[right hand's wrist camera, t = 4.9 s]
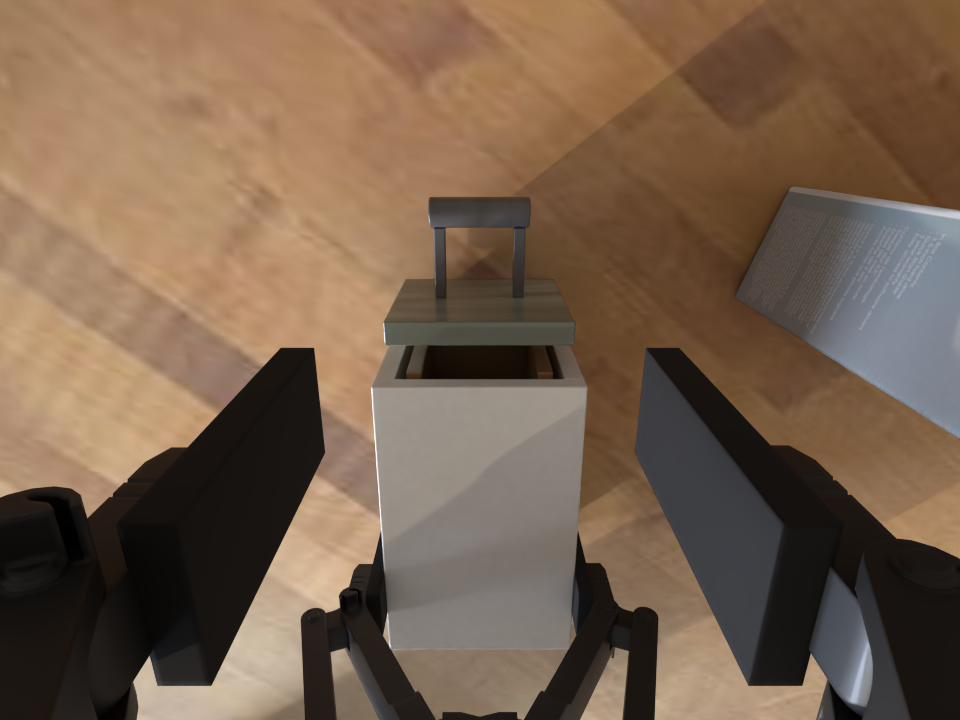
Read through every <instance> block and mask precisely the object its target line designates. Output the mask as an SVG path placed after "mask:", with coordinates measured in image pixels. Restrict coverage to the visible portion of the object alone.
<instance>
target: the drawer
mask: <svg viewBox="0 0 960 720" xmlns="http://www.w3.org/2000/svg"><path fill="white" fill-rule="evenodd" d="M530 214H531V205H530V198H529V197H430V198H429V203H428V216H429V226H430V227H431V228H434V229H433V231H434V267H435V279H406V280H405V282H404V284H403V286H402V288H401V290H400V292H399V294H398V295H397V297H396V299H395V301H394V303H393V305H392V307H391V309H390V311H389V313H388V315H387V317H386V319H385V321H384V323H383V324H384V341H385V345H415V346H414V349H413V352H412V355H411V359H410V362H409V365H408V368H407V371H406V379H553V371H552V368H551V365H550V362H549V358H548V355H547V352H546V349H545V346H544V345H574V338H575V321H574V319H573V317H572V315H571V313H570V311H569V309H568V307H567V305H566V303H565V301H564V299H563V297H562V295H561V293H560V292H559V290H558V288H557V286H556V284H555V282H554V280H553V279H524V267H525V228H528V227H529V225H530ZM445 228H513V279H446V231H445Z"/></svg>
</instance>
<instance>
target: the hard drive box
mask: <svg viewBox="0 0 960 720" xmlns="http://www.w3.org/2000/svg"><path fill="white" fill-rule="evenodd" d="M736 298H737V299H738V300H739V301H741V302H742V303H744V304H745V305H747V306H749V307H750V308H752V309H753V310H755V311H756V312H758V313H760V314H761V315H763V316H764V317H766V318H768V319H769V320H771V321H772V322H774V323H775V324H777V325H779V326H780V327H782V328H783V329H785V330H787V331H788V332H790V333H791V334H793V335H795V336H796V337H798V338H799V339H801V340H803V341H804V342H806V343H807V344H809V345H811V346H812V347H814V348H815V349H817V350H818V351H820V352H822V353H823V354H825V355H826V356H828V357H830V358H831V359H833V360H834V361H836V362H838V363H839V364H841V365H842V366H844V367H846V368H847V369H849V370H850V371H852V372H854V373H855V374H857V375H858V376H860V377H861V378H863V379H865V380H866V381H868V382H869V383H871V384H873V385H874V386H876V387H877V388H879V389H881V390H882V391H884V392H885V393H887V394H889V395H890V396H892V397H893V398H895V399H897V400H898V401H900V402H902V403H903V404H905V405H906V406H908V407H910V408H911V409H913V410H914V411H916V412H918V413H919V414H921V415H922V416H924V417H925V418H927V419H929V420H930V421H932V422H933V423H935V424H936V425H938V426H940V427H941V428H943V429H944V430H946V431H948V432H949V433H951V434H952V435H954V436H955V437H957V438H958V439H960V210H954V209H947V208H940V207H933V206H925V205H918V204H912V203H906V202H899V201H891V200H884V199H877V198H871V197H864V196H857V195H851V194H845V193H838V192H832V191H825V190H817V189H809V188H803V187H794V186H793V187H791V188H790V189H789V191H788V193H787V195H786V197H785V199H784V201H783V203H782V205H781V206H780V208H779V210H778V212H777V214H776V216H775V218H774V220H773V222H772V224H771V226H770V228H769V230H768V232H767V234H766V236H765V238H764V240H763V242H762V244H761V246H760V248H759V250H758V251H757V253H756V255H755V257H754V259H753V261H752V263H751V265H750V267H749V269H748V271H747V273H746V275H745V277H744V279H743V281H742V283H741V285H740V287H739V289H738V291H737V294H736Z"/></svg>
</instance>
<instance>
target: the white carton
mask: <svg viewBox="0 0 960 720" xmlns="http://www.w3.org/2000/svg"><path fill="white" fill-rule="evenodd" d="M414 346H415V345H389V347H388V350H387V352H386V354H385V357H384V359H383V361H382V364H381V366H380V368H379V371H378V373H377V375H376V377H375V380H374V382H373V385H372V387H371V392H372V406H373V420H374V434H375V448H376V462H377V476H378V491H379V505H380V519H381V533H382V547H383V561H384V573H385V587H386V601H387V618H388V632H389V646H390V649H391V650H568V649H569V647H570V633H571V618H572V603H573V589H574V574H575V561H576V547H577V533H578V518H579V504H580V490H581V475H582V461H583V447H584V433H585V418H586V404H587V390H588V387H587V385H586V383H585V380H584V378H583V375H582V373H581V371H580V368H579V366H578V364H577V361H576V359H575V357H574V354H573V352H572V350H571V347H570V345H544V346H545V349H546V352H547V355H548V358H549V362H550V365H551V368H552V371H553V379H406V371H407V368H408V365H409V362H410V359H411V355H412V352H413V349H414Z"/></svg>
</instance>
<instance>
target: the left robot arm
mask: <svg viewBox="0 0 960 720" xmlns="http://www.w3.org/2000/svg"><path fill="white" fill-rule="evenodd" d="M339 601H340V608H339V609H337V610H335V611H332V612H328V613H325V611H324V610H323V609H320V608H312V609H310V610H307V611H306V612H305V613H304V614H303V615H302V617H301V634H302V658H303V682H304V705H305V720H337V715H336V705H335V695H334V684H333V674H332V664H331V653H330V652H332V651H336V650H340V649H343V648H345V649H346V651H347V653H348V656H349V658H350V660H351V662H352V664H353V666H354V668H355V670H356V672H357V674H358V676H359V678H360V680H361V682H362V684H363V687H364V689H365V691H366V693H367V695H368V697H369V699H370V701H371V703H372V705H373V707H374V709H375V711H376V713H377V716H378V718H379V720H435V718H434V716H433V714H432V713H431V711H430V709H429V708H428V706H427V704H426V702H425V701H424V699H423V697H422V695H421V694H420V693H419V692H418V691H417V692H415V691H414V689H413V688H412V686H411V684H410V682H409V681H408V679H407V677H406V675H405V674H404V672H403V670H402V668H401V667H400V665H399V663H398V661H397V660H396V658H395V656H394V654H393V653H392V651H391V649H390V647H389V646H388V644H387V642H386V640H385V639H384V637H383V633H384V627H385V622H386V617H387V601H386V587H385V573H384V561H383V547H382V533H380V537H379V541H378V545H377V550H376V554H375V558H374V562H373V564H359V565H358V566H357V567H356V568H355V570H354V572H353V575H352V579H351V583H350V586H349V587H348V588H346V589H344V590H343V591H342V592H341V593H340V595H339ZM572 616H573V621H574V626H575V631H576V635H577V636H576V637H575V639H574V641H573V643H572V644H571V646H570V648H569V650H568V651H567V653H566V655H565V657H564V658H563V660H562V662H561V664H560V665H559V667H558V669H557V671H556V673H555V674H554V676H553V678H552V680H551V681H550V683H549V685H548V687H547V688H546V690H545V691H541V692H540V693H539V694H538V696H537V698H536V700H535V701H534V703H533V705H532V707H531V708H530V710H529V712H528V714H527V715H526V717H525V719H524V720H580V718H581V716H582V714H583V712H584V710H585V708H586V706H587V704H588V702H589V700H590V698H591V695H592V693H593V691H594V689H595V687H596V685H597V683H598V681H599V679H600V677H601V675H602V673H603V670H604V668H605V666H606V664H607V662H608V660H609V658H610V656H611V654H612V657H611V658H614V651H615V647H616V648H620V649H624V650H627V651H629V655H628V666H627V677H626V687H625V698H624V709H623V720H654V717H655V691H656V666H657V640H658V615H657V614H656V612H655V611H653V610H652V609H650V608H647V607H639V608H637V609H635V610H634V612H632V611H628V610H625V609H622V608H621V607H619V606H618V604H617V603H616V602H615V601H614V598H613V595H612V591H611V588H610V584H609V581H608V577H607V574H606V571H605V569H604V567H603V566H602V565H601V564H600V563H586V561H585V557H584V553H583V549H582V545H581V541H580V537H579V533H577V547H576V561H575V574H574V589H573V603H572ZM439 720H521V719H517V712H498V713H494V714H490V715H485V716H481V717H478V716H474V715H470V714H466V713H462V712H443V717H442V719H439Z"/></svg>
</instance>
